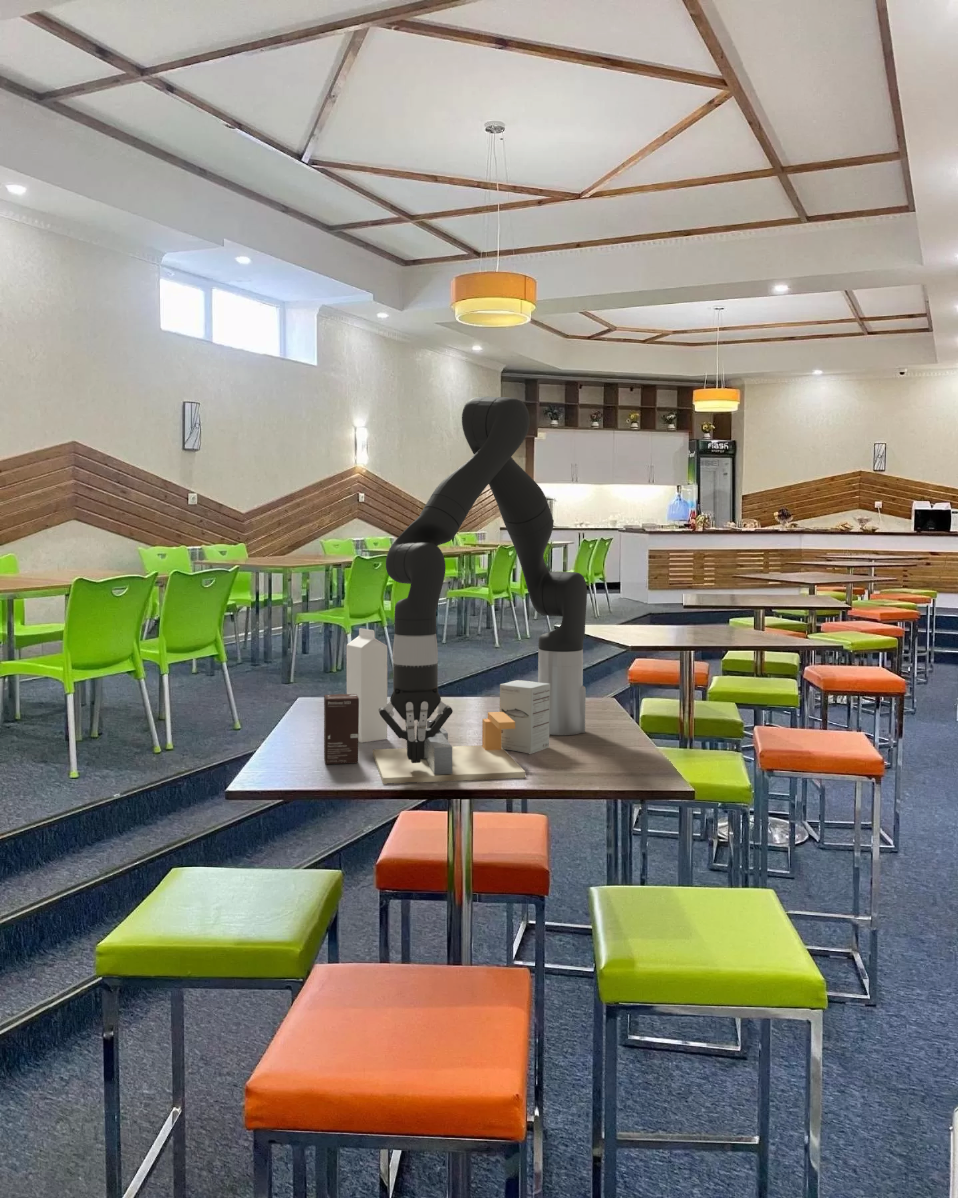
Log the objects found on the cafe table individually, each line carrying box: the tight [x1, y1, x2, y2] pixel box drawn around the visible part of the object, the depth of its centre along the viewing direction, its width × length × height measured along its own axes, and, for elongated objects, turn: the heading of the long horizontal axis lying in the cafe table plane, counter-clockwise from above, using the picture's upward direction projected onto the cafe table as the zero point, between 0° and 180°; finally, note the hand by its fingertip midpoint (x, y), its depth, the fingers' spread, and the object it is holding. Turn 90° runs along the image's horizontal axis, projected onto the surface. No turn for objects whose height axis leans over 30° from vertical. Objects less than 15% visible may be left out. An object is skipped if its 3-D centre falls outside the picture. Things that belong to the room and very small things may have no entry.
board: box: [372, 744, 526, 785], centre depth 169 cm, size 24×21×1 cm
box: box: [323, 693, 359, 765], centre depth 171 cm, size 6×4×12 cm
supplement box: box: [498, 679, 550, 755], centre depth 183 cm, size 7×7×13 cm
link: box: [415, 727, 453, 775], centre depth 166 cm, size 16×5×4 cm, turn 11°
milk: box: [346, 627, 388, 744], centre depth 190 cm, size 6×6×22 cm
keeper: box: [481, 711, 515, 750], centre depth 175 cm, size 4×10×8 cm, turn 11°
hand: (415, 761), depth 162 cm, fingers closed
